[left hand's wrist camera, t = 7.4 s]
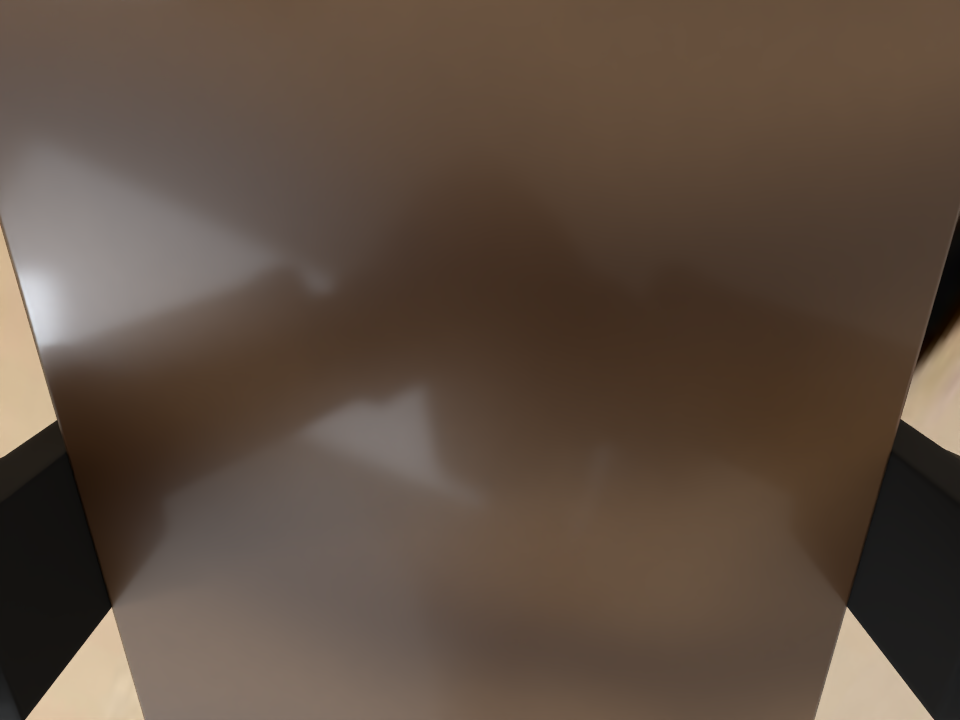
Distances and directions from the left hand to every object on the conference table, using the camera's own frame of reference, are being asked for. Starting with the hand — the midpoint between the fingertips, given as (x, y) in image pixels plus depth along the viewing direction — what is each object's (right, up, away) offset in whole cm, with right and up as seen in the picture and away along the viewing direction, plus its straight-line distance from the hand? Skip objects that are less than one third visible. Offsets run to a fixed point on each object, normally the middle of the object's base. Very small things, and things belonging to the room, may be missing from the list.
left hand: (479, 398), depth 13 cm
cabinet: (0, +6, +3) cm, 7 cm away
